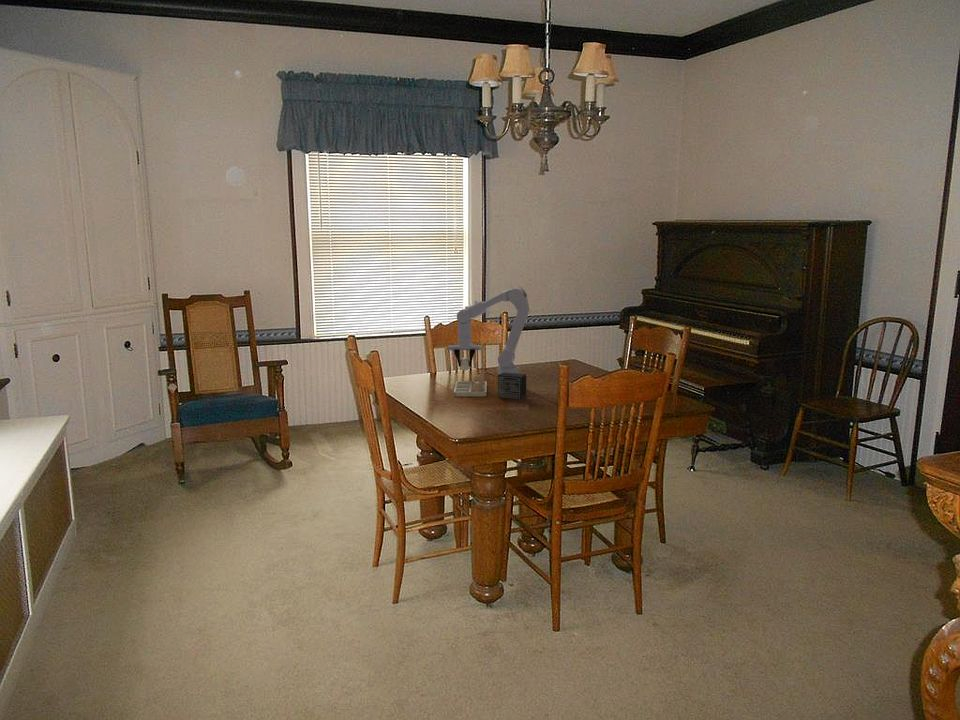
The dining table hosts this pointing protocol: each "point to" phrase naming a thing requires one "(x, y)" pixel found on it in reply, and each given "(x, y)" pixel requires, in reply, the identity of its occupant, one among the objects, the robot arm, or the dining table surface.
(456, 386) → the grey divided tray
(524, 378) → the small box
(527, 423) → the dining table surface
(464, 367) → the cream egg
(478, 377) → the tan egg
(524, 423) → the dining table surface
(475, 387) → the tan egg
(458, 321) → the robot arm
